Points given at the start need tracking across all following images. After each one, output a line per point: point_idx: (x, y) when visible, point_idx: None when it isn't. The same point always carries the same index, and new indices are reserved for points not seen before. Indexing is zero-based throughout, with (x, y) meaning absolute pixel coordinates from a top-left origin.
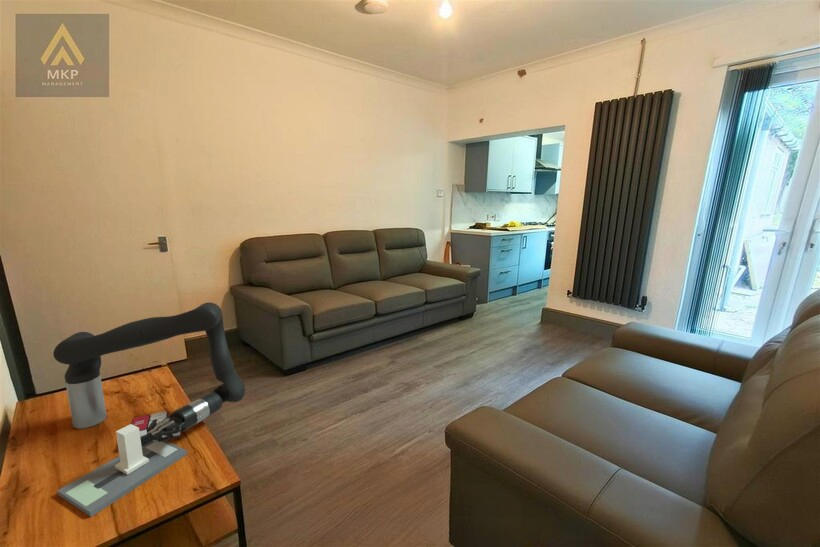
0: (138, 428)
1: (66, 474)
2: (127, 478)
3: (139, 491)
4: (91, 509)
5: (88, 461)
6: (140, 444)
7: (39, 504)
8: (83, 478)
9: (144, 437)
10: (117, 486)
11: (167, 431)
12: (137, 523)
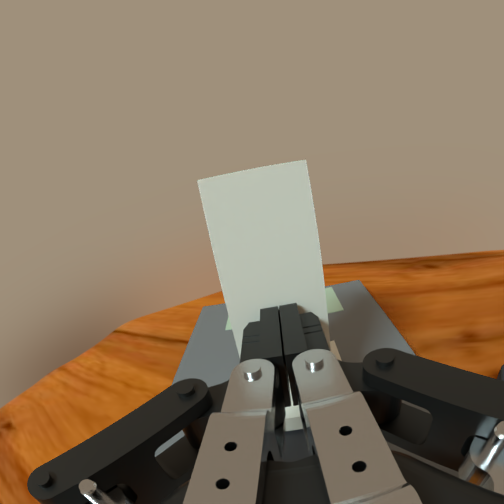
0: (198, 184)
1: (442, 298)
2: (228, 366)
3: (158, 384)
4: (208, 308)
5: (479, 323)
6: (229, 315)
7: (355, 279)
8: (364, 305)
9: (272, 328)
10: (223, 345)
11: (130, 439)
12: (93, 347)
